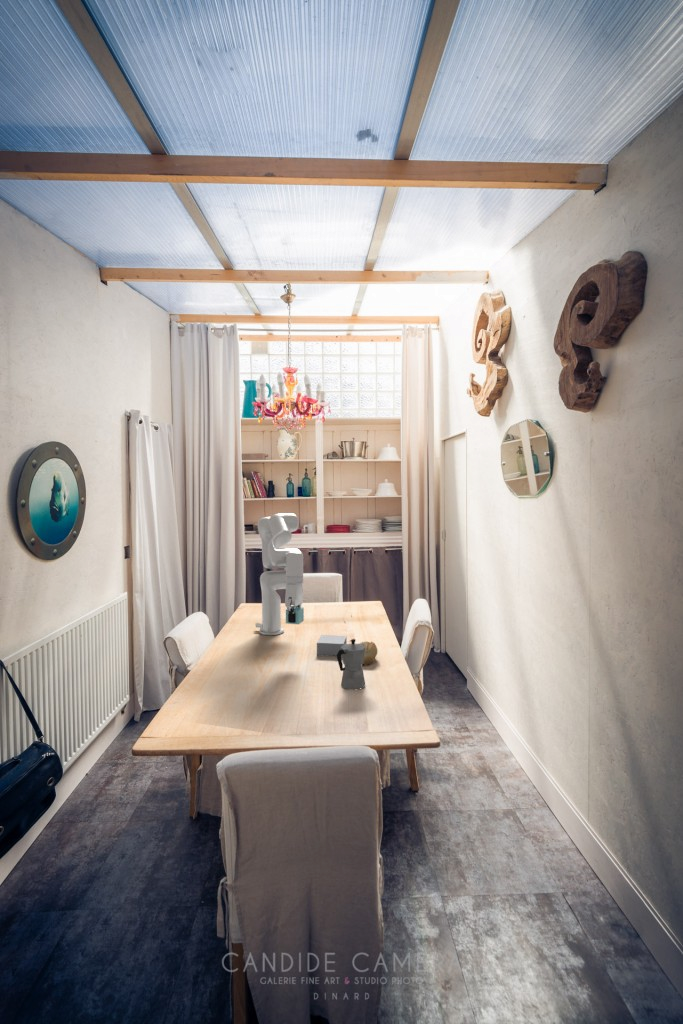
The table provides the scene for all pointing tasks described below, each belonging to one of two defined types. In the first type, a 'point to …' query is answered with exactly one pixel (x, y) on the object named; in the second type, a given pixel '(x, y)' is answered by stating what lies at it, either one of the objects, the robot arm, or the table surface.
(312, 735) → the table surface
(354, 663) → the coffeepot
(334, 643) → the gray block
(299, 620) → the teal cube
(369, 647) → the bread roll
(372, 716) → the table surface
